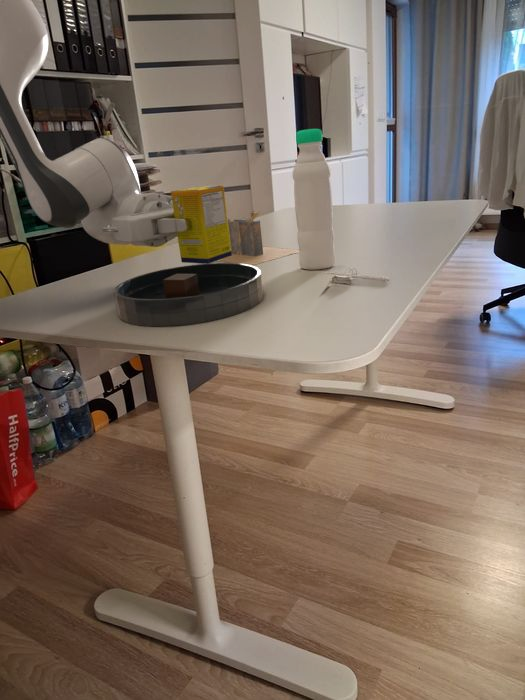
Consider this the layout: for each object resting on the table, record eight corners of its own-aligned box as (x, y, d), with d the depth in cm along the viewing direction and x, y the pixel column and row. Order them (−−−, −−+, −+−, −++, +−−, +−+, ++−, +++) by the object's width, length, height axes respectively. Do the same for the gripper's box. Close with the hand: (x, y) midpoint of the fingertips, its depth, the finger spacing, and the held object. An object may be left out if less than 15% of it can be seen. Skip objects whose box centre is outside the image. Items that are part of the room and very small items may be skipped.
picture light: (391, 281, 86) (391, 269, 86) (377, 288, 84) (377, 275, 83) (324, 274, 96) (323, 263, 95) (309, 280, 93) (308, 268, 92)
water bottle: (340, 262, 104) (333, 127, 95) (329, 270, 98) (321, 127, 89) (306, 262, 107) (297, 131, 98) (294, 270, 101) (283, 132, 92)
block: (187, 304, 84) (183, 279, 82) (167, 303, 85) (162, 279, 84) (200, 297, 87) (196, 273, 86) (180, 296, 89) (176, 273, 87)
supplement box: (204, 255, 87) (195, 186, 83) (233, 256, 83) (224, 184, 79) (180, 262, 82) (169, 190, 78) (208, 264, 79) (198, 189, 75)
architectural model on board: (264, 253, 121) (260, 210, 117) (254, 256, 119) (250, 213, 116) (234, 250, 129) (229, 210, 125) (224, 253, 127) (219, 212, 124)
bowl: (187, 339, 69) (182, 307, 68) (90, 318, 84) (84, 291, 82) (292, 294, 85) (290, 267, 84) (195, 283, 100) (192, 260, 98)
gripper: (92, 209, 80) (148, 209, 72) (190, 193, 94) (246, 191, 86) (100, 250, 83) (156, 255, 74) (195, 229, 97) (250, 230, 88)
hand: (205, 220), depth 80 cm, fingers closed on supplement box, 6 cm apart
